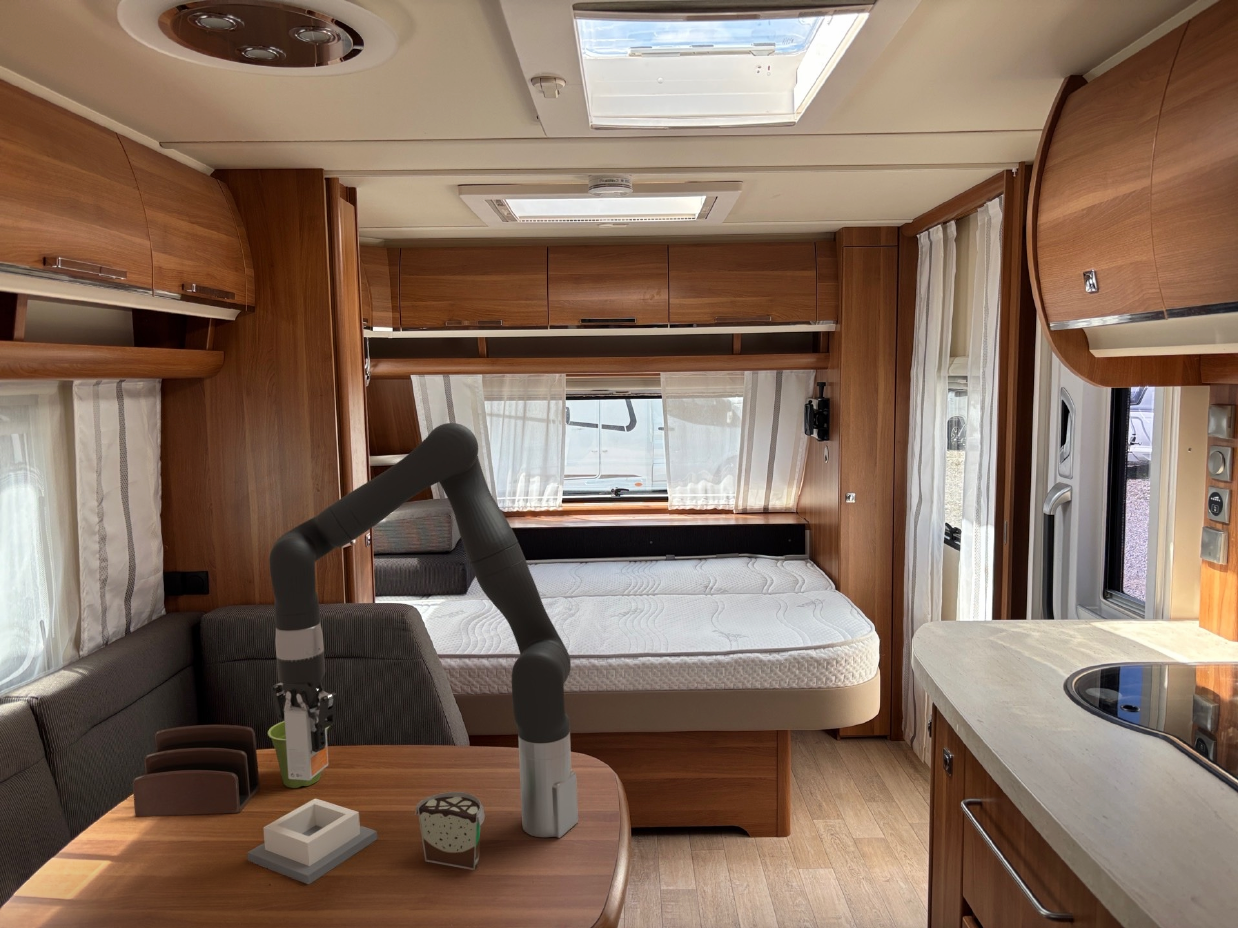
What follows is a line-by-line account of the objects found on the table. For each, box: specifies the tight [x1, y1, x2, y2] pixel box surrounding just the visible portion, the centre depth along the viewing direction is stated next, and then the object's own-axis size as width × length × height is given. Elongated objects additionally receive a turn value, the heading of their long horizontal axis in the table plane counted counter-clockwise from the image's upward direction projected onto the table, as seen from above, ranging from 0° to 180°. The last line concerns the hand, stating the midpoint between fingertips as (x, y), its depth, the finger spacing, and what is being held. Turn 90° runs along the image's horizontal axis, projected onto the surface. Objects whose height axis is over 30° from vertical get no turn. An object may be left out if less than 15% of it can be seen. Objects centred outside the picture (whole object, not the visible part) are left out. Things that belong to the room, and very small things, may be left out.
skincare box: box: [284, 706, 329, 780], centre depth 144 cm, size 6×4×12 cm
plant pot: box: [267, 720, 331, 789], centre depth 171 cm, size 12×12×11 cm
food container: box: [414, 791, 486, 871], centre depth 142 cm, size 12×6×10 cm, turn 71°
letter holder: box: [132, 724, 261, 818], centre depth 163 cm, size 10×20×14 cm, turn 91°
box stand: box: [246, 798, 378, 885], centre depth 145 cm, size 15×15×6 cm
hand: (307, 746), depth 144 cm, fingers closed on skincare box, 5 cm apart
